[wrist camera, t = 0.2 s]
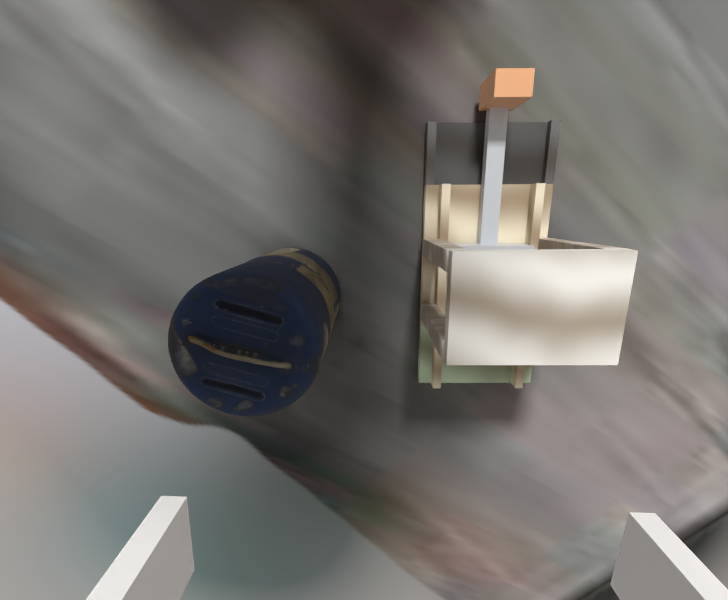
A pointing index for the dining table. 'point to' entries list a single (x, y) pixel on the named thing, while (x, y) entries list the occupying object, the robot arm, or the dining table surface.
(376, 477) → the dining table surface
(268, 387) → the canister
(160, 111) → the dining table surface
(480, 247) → the orange and grey bar
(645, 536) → the robot arm
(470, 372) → the cream wooden rail frame
